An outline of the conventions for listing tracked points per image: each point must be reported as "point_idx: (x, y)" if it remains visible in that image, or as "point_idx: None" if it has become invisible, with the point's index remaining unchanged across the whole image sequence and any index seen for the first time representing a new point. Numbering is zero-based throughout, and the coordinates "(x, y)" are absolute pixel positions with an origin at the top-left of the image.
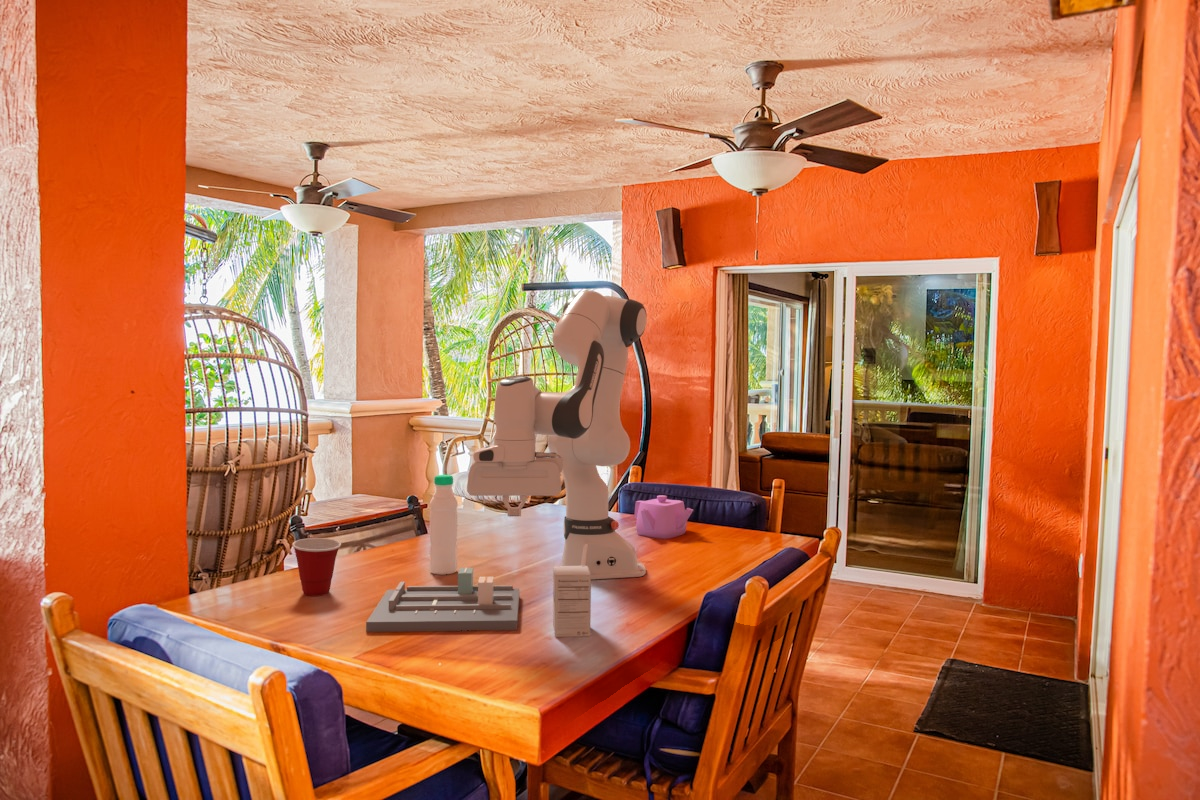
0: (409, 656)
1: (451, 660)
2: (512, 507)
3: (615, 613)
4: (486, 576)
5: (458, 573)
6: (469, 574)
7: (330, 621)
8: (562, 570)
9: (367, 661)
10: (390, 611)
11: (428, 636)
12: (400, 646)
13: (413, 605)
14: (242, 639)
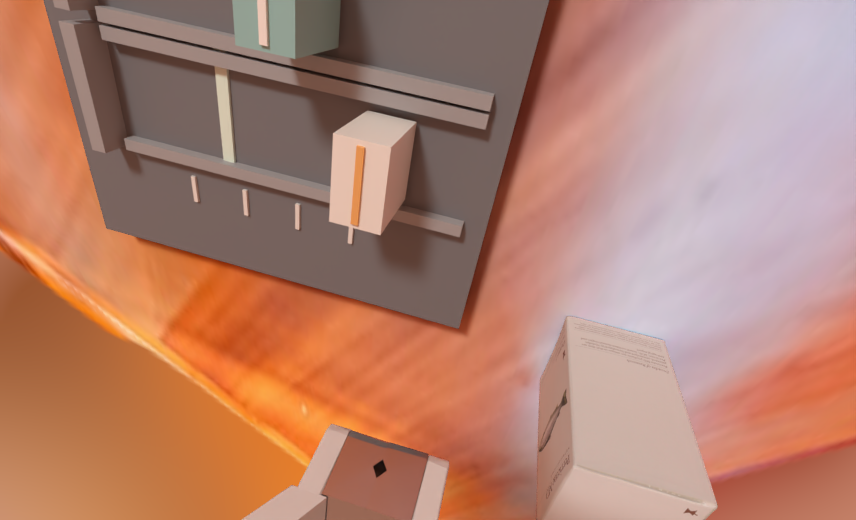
0: (249, 367)
1: (321, 405)
2: (343, 512)
3: (835, 273)
4: (360, 152)
5: (238, 44)
6: (289, 55)
7: (8, 109)
8: (579, 517)
9: (189, 362)
10: (126, 157)
11: (263, 285)
12: (221, 319)
13: (171, 157)
14: None
